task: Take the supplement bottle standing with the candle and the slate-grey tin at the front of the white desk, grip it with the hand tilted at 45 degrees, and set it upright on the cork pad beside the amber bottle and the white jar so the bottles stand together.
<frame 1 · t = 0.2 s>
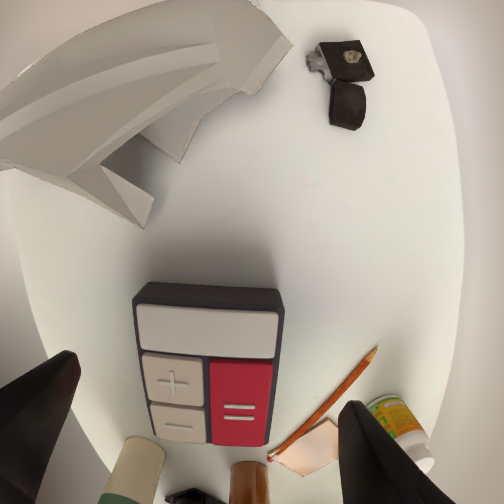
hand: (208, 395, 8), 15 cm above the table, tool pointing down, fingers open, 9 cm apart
lighter: (376, 80, 20), point 1 cm above the table
calculator: (211, 364, 25), on the table
amber bottle: (248, 471, 28), on the table
supplement bottle: (380, 411, 27), on the table
white jar: (144, 450, 27), on the table
pencil: (319, 409, 27), on the table, touching cork pad
cork pad: (314, 449, 27), on the table
origami crane: (294, 117, 14), point 8 cm above the table
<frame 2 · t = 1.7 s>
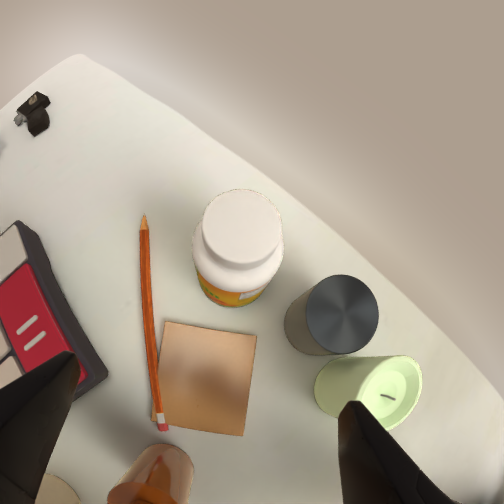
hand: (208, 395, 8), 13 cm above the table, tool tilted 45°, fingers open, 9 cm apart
lighter: (50, 97, 27), point 1 cm above the table
grey tin: (314, 324, 23), on the table
calculator: (27, 331, 20), on the table
amber bottle: (166, 467, 18), on the table
supplement bottle: (232, 275, 24), on the table
white jar: (58, 496, 14), on the table
candle: (341, 386, 21), on the table
pencil: (149, 318, 22), on the table, touching cork pad
cork pad: (203, 380, 20), on the table
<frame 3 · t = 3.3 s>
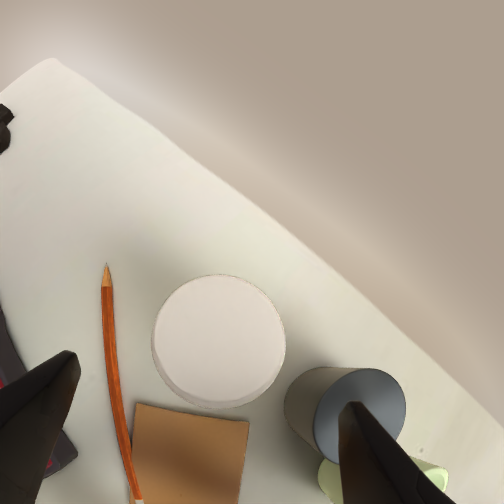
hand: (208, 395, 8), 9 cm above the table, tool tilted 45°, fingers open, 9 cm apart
lighter: (13, 111, 21), point 1 cm above the table
grey tin: (321, 403, 17), on the table
supplement bottle: (218, 347, 18), on the table
candle: (349, 467, 15), on the table
pencil: (118, 396, 16), on the table, touching cork pad
cork pad: (185, 468, 14), on the table
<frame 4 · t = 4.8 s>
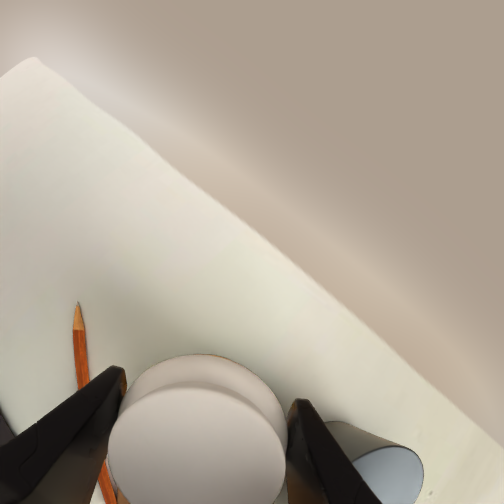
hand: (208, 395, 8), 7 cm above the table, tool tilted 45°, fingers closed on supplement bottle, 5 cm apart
grey tin: (326, 459, 13), on the table
supplement bottle: (208, 402, 14), on the table, touching gripper
pencil: (99, 449, 12), on the table, touching cork pad
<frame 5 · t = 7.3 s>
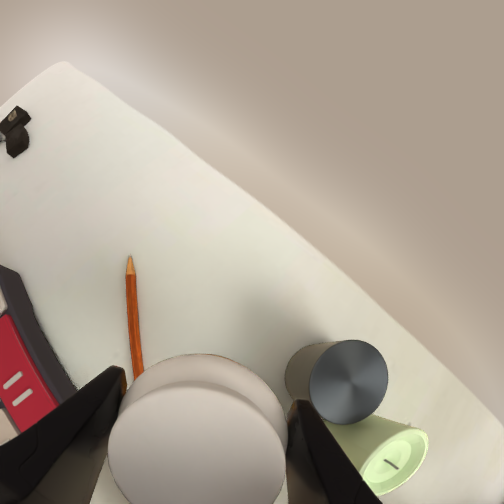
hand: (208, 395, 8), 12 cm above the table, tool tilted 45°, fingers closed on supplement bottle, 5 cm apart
lighter: (30, 113, 24), point 1 cm above the table
grey tin: (317, 376, 20), on the table
calculator: (16, 377, 17), on the table
supplement bottle: (208, 402, 14), point 5 cm above the table, touching gripper
candle: (343, 436, 19), on the table
pencil: (140, 371, 19), on the table, touching cork pad
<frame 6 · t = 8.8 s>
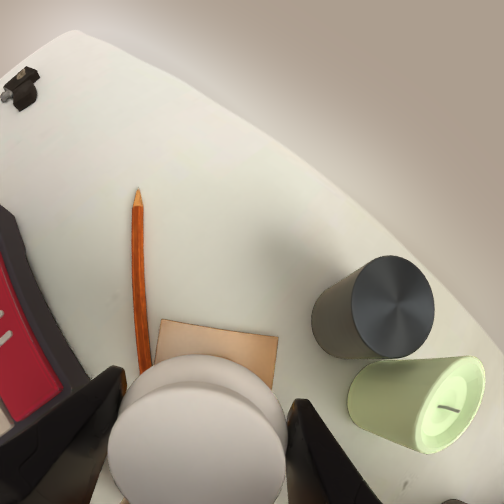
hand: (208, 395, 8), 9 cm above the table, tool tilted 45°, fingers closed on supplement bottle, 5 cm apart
lighter: (39, 71, 22), point 1 cm above the table
grey tin: (347, 320, 18), on the table
calculator: (0, 331, 15), on the table
supplement bottle: (208, 402, 14), point 2 cm above the table, touching gripper
candle: (377, 395, 17), on the table
pencil: (142, 316, 17), on the table, touching cork pad
cork pad: (210, 394, 16), on the table
when the fingers open (7 cm above the table, at t = 9.8 s): supplement bottle stays where it is, resting on cork pad.
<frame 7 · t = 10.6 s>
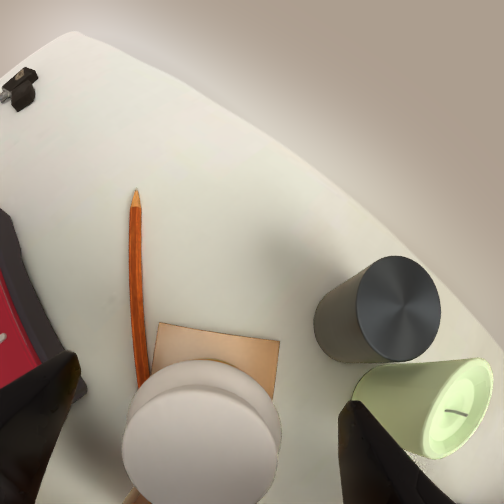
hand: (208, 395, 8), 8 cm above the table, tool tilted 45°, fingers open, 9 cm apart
lighter: (38, 71, 22), point 1 cm above the table
grey tin: (350, 324, 18), on the table
supplement bottle: (208, 403, 15), resting on cork pad
candle: (381, 400, 16), on the table
pencil: (139, 320, 17), on the table, touching cork pad
cork pad: (209, 399, 15), on the table
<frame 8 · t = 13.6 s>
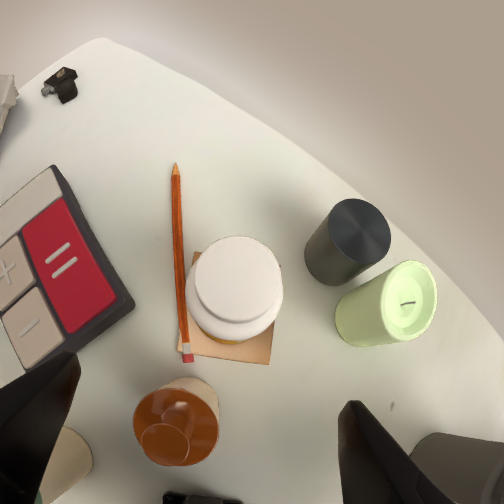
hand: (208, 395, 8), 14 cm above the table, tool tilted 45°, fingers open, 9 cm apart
lighter: (78, 71, 30), point 1 cm above the table
grey tin: (331, 257, 25), on the table
calculator: (51, 272, 22), on the table
amber bottle: (189, 404, 20), on the table
supplement bottle: (229, 310, 22), resting on cork pad
white jar: (67, 451, 17), on the table
candle: (359, 318, 24), on the table
pencil: (179, 252, 24), on the table, touching cork pad
bottle: (427, 458, 19), on the table
cork pad: (230, 308, 23), on the table
origami crane: (16, 87, 20), point 8 cm above the table
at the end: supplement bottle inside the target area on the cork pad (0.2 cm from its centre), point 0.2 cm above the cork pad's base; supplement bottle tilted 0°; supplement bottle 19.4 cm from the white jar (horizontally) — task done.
